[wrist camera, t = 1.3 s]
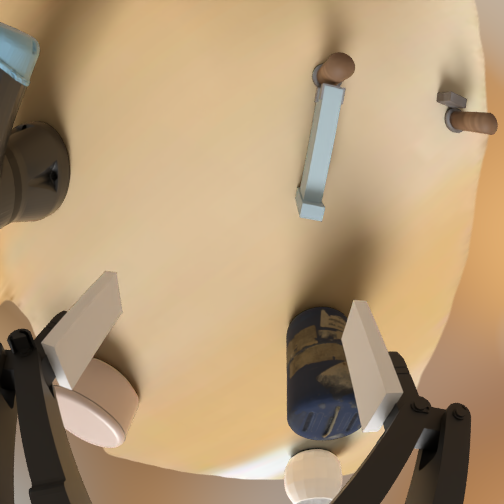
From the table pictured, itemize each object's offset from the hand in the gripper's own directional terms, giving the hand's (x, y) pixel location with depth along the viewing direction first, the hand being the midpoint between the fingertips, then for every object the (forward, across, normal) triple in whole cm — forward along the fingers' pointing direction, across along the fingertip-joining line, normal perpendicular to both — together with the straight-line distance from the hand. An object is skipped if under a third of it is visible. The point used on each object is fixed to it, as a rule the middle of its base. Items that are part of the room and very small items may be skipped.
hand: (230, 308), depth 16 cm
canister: (+22, +11, -18) cm, 31 cm away
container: (+23, -28, -40) cm, 54 cm away
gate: (+22, +6, +7) cm, 24 cm away
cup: (+22, +19, -57) cm, 64 cm away
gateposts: (+22, +16, +16) cm, 31 cm away
